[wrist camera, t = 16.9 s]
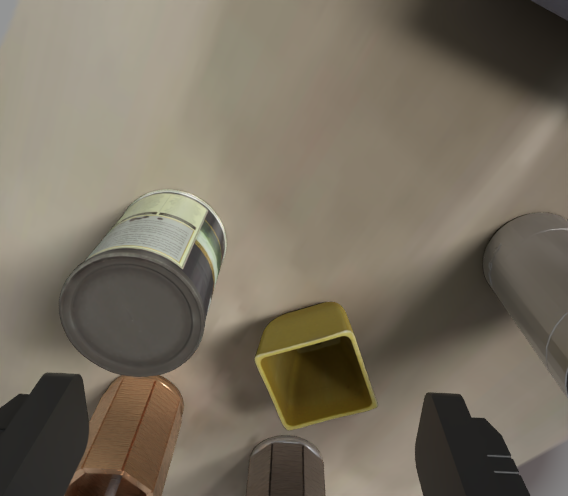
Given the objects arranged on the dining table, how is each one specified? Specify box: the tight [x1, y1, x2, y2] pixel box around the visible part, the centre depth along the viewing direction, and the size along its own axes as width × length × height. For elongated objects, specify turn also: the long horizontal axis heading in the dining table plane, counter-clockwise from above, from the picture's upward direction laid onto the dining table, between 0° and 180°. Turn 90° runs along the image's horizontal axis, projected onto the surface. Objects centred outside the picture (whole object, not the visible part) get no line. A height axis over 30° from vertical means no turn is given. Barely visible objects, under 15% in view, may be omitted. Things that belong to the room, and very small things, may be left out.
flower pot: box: [254, 302, 378, 430], centre depth 50 cm, size 9×9×9 cm
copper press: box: [64, 375, 184, 496], centre depth 53 cm, size 9×11×13 cm
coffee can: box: [59, 189, 227, 377], centre depth 44 cm, size 10×10×14 cm
